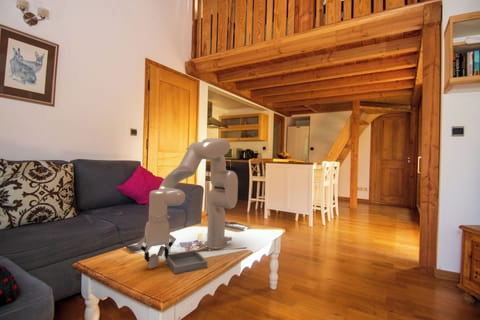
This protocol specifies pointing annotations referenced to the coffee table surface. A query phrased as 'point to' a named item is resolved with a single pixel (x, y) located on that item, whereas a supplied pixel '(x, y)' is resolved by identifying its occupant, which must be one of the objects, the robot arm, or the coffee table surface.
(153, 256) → the lighter
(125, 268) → the coffee table surface
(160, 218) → the robot arm
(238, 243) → the coffee table surface
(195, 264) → the tray
